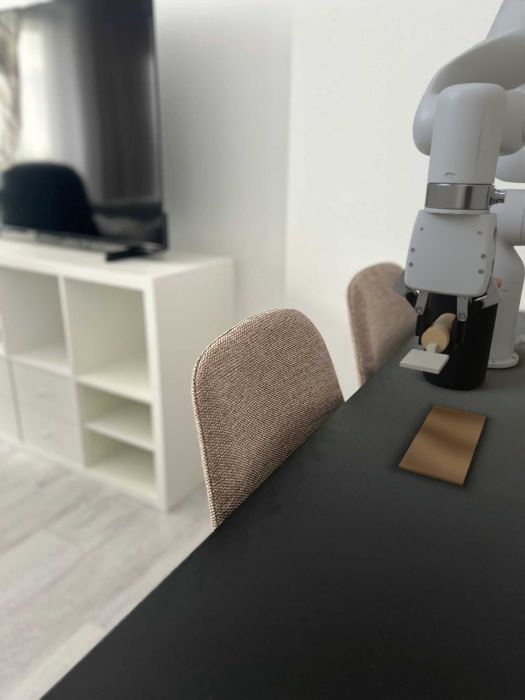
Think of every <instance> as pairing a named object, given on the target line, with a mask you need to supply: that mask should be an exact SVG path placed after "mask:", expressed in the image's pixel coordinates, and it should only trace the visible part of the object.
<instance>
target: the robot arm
mask: <svg viewBox="0 0 525 700" xmlns="http://www.w3.org/2000/svg"><path fill="white" fill-rule="evenodd" d="M412 140H413V144H414V145H415V148H416V150H418V152H420V153H421V154H423V155H425V156H428V157H429V161H428V171H427V172H428V173H427V180H426V188H425V197H424V203H423V204H424V206H423V209H419V210H418V212H417V214H416V217H415V221H414V225H413V228H412V232H411V237H410V240H409V245H408V249H407V255H406V259H405V260H406V261H405V265H404V266H405V268H404V269H403V271H402V272H401V273H400V274H399V276H398V278H397V279H396V281H395V282H394V284H393V285H392V289H393V291H394V292H396V293H397V294H399V295H400V296H402V297H403V298H405V300H406V301H407V302H408V303H409V305H411V307H412V308H413V310H414V313H415V314H416V324H415V332H414V335H415V337H418V339H417V345H419V346H423V345H422V342H421V339H422V335H423V334H424V333H425V332H426V331H427V329H428V328H429V327H430V326H431V319H432V313H431V311H430V307H429V305H430V301H431V297H432V293H439V294H447V295H455V296H457V314H456V315H455V318H454V319H453V321H452V325H451V332H450V341H449V346H448V349H450V350H453V351H454V350H455V348H456V347H457V346H458V343H461V344H462V343H463V340H464V335H465V328H466V322H467V318H469V317H470V316H472V315H473V314H475V313H476V312H478V311H479V310H481V309H482V308H485V307H489V306H492V305H494V304H497V303H498V309H497V315H496V320H495V326H494V332H493V338H492V344H491V350H490V356H489V362H488V368H487V369H508V368H511V367H515V366H516V365H517V364H519V360H520V359H519V358H520V357H519V354H517V352H515V351H514V350H515V348H516V347H517V346H523V345H525V334H520V335H515V333H516V327H517V321H518V316H519V312H520V311H519V310H520V304H521V299H522V294H523V289H524V283H525V263H524V261H523V260H522V258H521V256H520V255H519V253H518V251H517V250H516V249H515V247H522V246H523V247H525V189H523V188H502V189H501V188H499V189H497V188H496V185H495V181H496V179H497V180H498V181H501V182H504V183H513V184H525V0H502V3H501V5H500V7H499V8H498V11H497V14H496V15H495V18H494V20H493V21H492V24H491V26H490V28H489V30H488V33H487V34H486V37H485V39H483V40H481V41H478V43H475V44H474V45H473V46H471V47H468V48H467V49H466V50H465V51H463V52H461V53H460V54H458V55H457V56H456V57H454V58H452V59H451V60H449V61H447V62H446V63H445V64H444V65H442V66H441V67H440V68H439V69H438V70H437V71H436V72H435V73H434V75H433V76H432V78H431V79H430V81H429V82H428V85H427V87H426V88H425V90H424V93H423V94H422V96H421V99H420V101H419V103H418V105H417V108H416V111H415V114H414V118H413V123H412ZM494 277H495V278H498V279H500V280H501V281H502V284H501V287H500V288H498V285H497V283H496V281H495V278H494ZM485 292H487V295H486V296H484V297H482V298H478V299H476V300H475V301H473V302H472V303H471V297H478V296H481V295H483V294H485Z"/></svg>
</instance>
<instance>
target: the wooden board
mask: <svg viewBox="0 0 525 700" xmlns="http://www.w3.org/2000/svg"><path fill="white" fill-rule="evenodd" d="M486 419H487V416H486V415H483V414H478V413H473V412H469V411H464V410H459V409H455V408H450V407H445V406H441V405H437V404H434V405H433V407H432V408H431V410H430V412H429V413H428V415H427V416H426V418H425V420H424V422H423V423H422V425H421V426H420V429H419V430H418V432H417V433H416V435H415V437H414V438H413V441H412V442H411V444H410V445H409V448H408V449H407V451H406V452H405V453H404V456H403V458H402V459H401V461H400V462H399V464H398V469H399V470H400V469H401V470H405V471H407V472H411V473H415V474H418V475H422V476H426V477H428V478H432V479H436V480H440V481H443V482H446V483H450V484H453V485H456V486H457V485H458V486H461V487H463V486H464V482H465V480H466V477H467V475H468V471H469V469H470V466H471V463H472V460H473V458H474V454H475V452H476V449H477V446H478V442H479V439H480V437H481V435H482V431H483V428H484V425H485V423H486Z"/></svg>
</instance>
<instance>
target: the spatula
mask: <svg viewBox="0 0 525 700" xmlns="http://www.w3.org/2000/svg"><path fill="white" fill-rule="evenodd" d="M454 318H455V315H454V314H451V313H446V314H443V315H441V316H440V317H439V318H438V319H437V320H436V321H435V322H434V323H433V324H432V325H431V326H430V327H429V328H428V329H427V331H426V332H425V333H424V334H423V335H422V339H421V342H422V345H421V346H422V348H423V349H424V348H425V349H426V350H427V351H424V350H421V349H415V348H412V349H411V350H410V351H409V352H408V353H407V354H406V355H405V357H403V358H402V359H401V361H400V362H399V367H400V368H405V369H411V370H416V371H421V372H422V371H425V372H431V373H436V374H439V372H440V371H441V370H442V368H443V367H444V365H445V364H446V362H447V361H448V359H449V355H444V354H439V352H442V351H443V350H444V349H445V348H446V347H447V345H448V344H449V341H450V332H451V325H452V321H453V319H454Z"/></svg>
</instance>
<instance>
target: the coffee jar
mask: <svg viewBox="0 0 525 700" xmlns="http://www.w3.org/2000/svg"><path fill="white" fill-rule="evenodd" d="M494 278H495V277H494ZM495 281H496V283H497V285H498V288H500V287H501V284H502V281H501V280H500V279H498V278H495ZM486 295H487V292H485V294H483V295H481V296H478V297H471V303H472V302H473V301H475V300H476V299H478V298H482V297H484V296H486ZM429 307H430V311H431V313H432V319H431V325H432V324H433V323H434V322H435V321H436V320H437V319H438V318H439V317H440V316H441V315H443V314H446V313H451V314H454V315H456V314H457V296H455V295H447V294H439V293H432V297H431V301H430V305H429ZM497 309H498V303H497V304H494V305H492V306H489V307H485V308H482V309H481V310H479V311H478V312H476V313H475V314H473V315H472V316H470V317H469V318H467V322H466V328H465V335H464V340H463V343H462V344H461V343H458V346H457V347H456V348H455V350H454V351H453V350H450V349H448V346H449V344H448V345H447V347H446V348H445V349H444V350H443V351H442V352H439V354H444V355H449V359H448V361H447V362H446V364H445V365H444V367H443V368H442V370H441V371H440V372H439V374H436V373H431V372H425V371H421V372H422V375H423V376H424V379H425V380H426V381H427V382H428V383H430V384H432V385H434V386H437V387H440V388H443V389H449V390H454V391H470V390H474V389H478V388H479V387H480V386H481V385H482V384H483V383H484V382H485V381H486V378H487V373H488V369H489V368H488V362H489V356H490V350H491V344H492V338H493V332H494V326H495V320H496V315H497ZM423 351H427V350H426V349H425V348H424V347H423Z"/></svg>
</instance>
